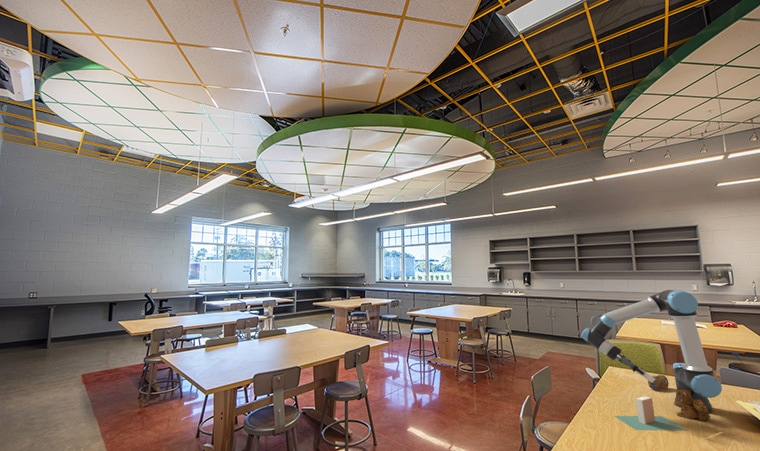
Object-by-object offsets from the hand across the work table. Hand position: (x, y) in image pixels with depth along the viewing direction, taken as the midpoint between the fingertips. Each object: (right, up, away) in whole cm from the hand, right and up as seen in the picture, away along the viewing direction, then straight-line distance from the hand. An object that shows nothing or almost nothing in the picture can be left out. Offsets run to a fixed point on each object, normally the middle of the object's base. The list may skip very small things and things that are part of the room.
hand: (652, 380), depth 165 cm
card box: (-8, -18, -6) cm, 21 cm away
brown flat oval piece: (+40, -26, +41) cm, 63 cm away
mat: (-8, -18, -7) cm, 21 cm away
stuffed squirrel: (+21, -19, -1) cm, 28 cm away
